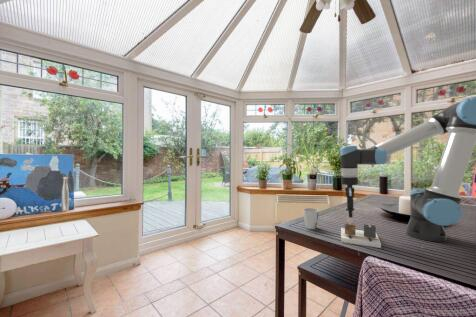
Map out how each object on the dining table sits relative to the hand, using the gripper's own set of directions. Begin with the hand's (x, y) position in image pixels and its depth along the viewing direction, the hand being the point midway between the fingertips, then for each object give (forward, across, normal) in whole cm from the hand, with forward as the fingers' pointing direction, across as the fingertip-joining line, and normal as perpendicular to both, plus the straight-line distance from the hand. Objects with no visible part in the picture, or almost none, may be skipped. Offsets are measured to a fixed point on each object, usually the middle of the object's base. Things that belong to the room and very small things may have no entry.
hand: (350, 223), depth 108 cm
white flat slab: (+6, +4, +3) cm, 8 cm away
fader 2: (+3, +7, +7) cm, 11 cm away
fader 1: (+3, +7, -1) cm, 8 cm away
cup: (+6, -4, -20) cm, 21 cm away
